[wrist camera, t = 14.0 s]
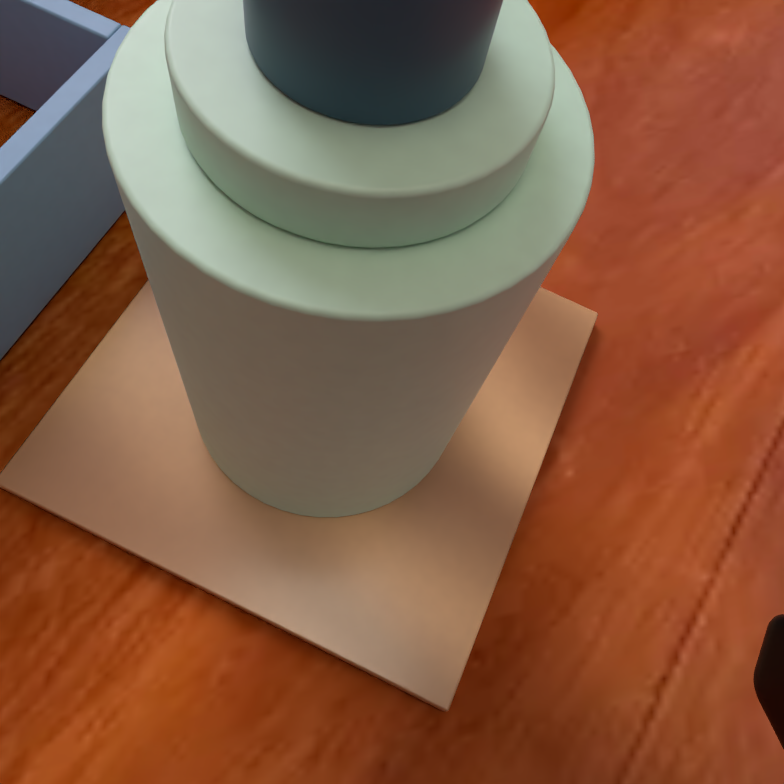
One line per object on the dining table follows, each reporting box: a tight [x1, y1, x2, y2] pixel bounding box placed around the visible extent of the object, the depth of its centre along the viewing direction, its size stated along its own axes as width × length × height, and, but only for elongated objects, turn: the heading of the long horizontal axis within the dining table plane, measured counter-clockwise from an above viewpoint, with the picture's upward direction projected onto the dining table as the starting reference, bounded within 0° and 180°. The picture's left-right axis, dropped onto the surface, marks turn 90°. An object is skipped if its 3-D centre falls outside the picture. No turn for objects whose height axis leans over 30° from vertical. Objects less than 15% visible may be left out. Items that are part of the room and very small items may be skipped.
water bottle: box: [102, 0, 594, 517], centre depth 12 cm, size 6×6×12 cm
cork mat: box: [0, 279, 598, 711], centre depth 17 cm, size 11×11×1 cm
